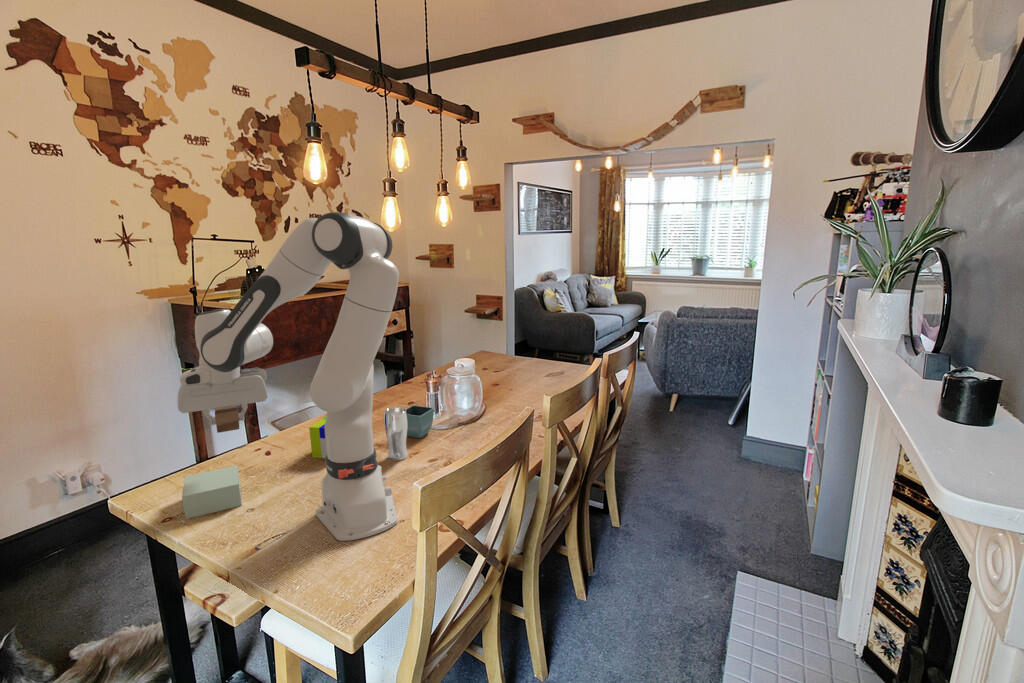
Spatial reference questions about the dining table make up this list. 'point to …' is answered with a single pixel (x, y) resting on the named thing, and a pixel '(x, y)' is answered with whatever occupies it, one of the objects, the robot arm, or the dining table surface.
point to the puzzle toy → (318, 439)
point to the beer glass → (396, 432)
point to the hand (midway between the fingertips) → (227, 422)
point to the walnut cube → (226, 419)
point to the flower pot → (419, 420)
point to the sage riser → (211, 491)
